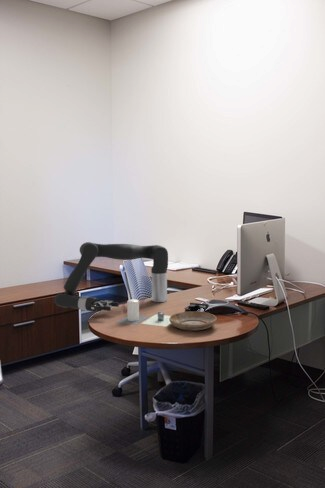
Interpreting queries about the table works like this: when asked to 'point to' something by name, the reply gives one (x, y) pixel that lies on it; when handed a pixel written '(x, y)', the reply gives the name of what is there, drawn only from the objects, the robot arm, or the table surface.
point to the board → (154, 321)
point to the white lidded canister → (133, 310)
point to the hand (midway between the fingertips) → (114, 306)
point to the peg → (160, 316)
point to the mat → (126, 321)
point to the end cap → (197, 307)
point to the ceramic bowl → (193, 320)
